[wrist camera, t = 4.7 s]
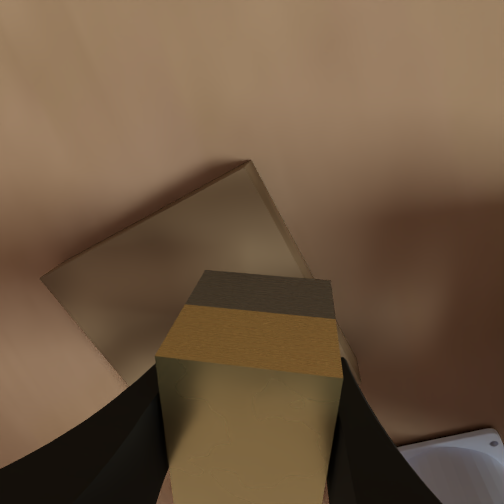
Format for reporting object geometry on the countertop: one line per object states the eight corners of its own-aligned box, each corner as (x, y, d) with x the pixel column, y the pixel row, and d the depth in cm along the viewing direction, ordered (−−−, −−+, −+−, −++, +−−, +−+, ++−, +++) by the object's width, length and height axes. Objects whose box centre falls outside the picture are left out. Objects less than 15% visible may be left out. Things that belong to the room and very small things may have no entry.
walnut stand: (356, 360, 22) (361, 384, 20) (179, 413, 26) (170, 436, 24) (251, 159, 17) (244, 167, 16) (61, 263, 22) (39, 278, 20)
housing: (330, 280, 12) (343, 378, 8) (314, 404, 14) (317, 529, 10) (205, 269, 12) (154, 356, 8) (210, 391, 15) (173, 504, 11)
